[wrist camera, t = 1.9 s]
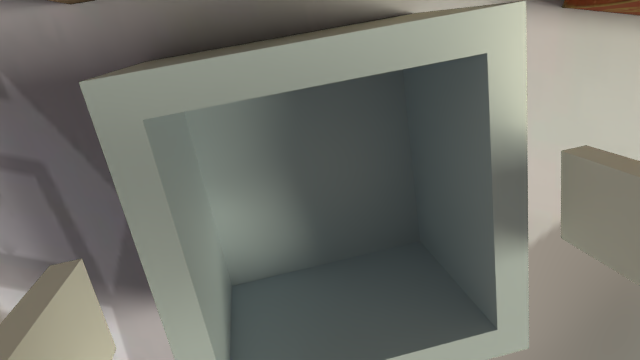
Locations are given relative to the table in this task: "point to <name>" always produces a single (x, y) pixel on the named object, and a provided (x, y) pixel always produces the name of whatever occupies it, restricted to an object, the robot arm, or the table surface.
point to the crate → (71, 1)
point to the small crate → (332, 189)
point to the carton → (605, 5)
